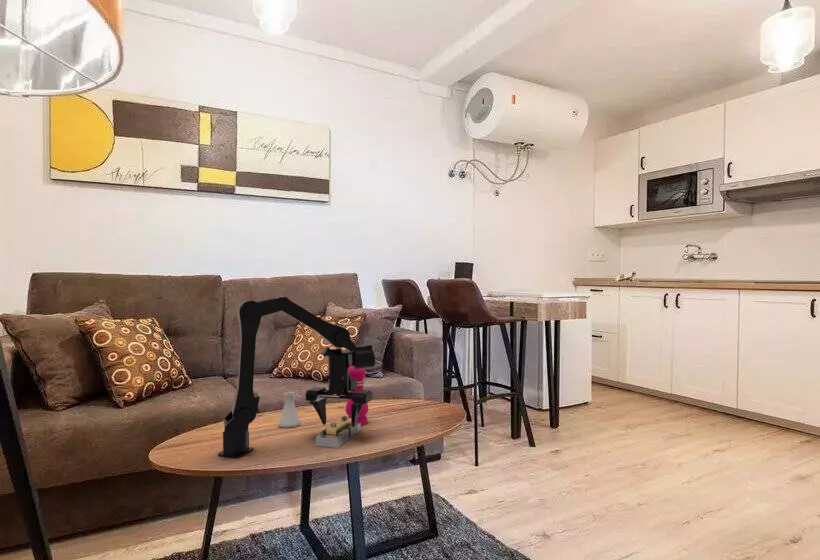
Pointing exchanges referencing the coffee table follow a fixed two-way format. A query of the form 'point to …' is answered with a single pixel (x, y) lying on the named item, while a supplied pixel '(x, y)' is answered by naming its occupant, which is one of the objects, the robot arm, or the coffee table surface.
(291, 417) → the flask
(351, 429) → the grey metal base
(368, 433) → the coffee table surface
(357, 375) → the pepper mill
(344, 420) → the link bar
